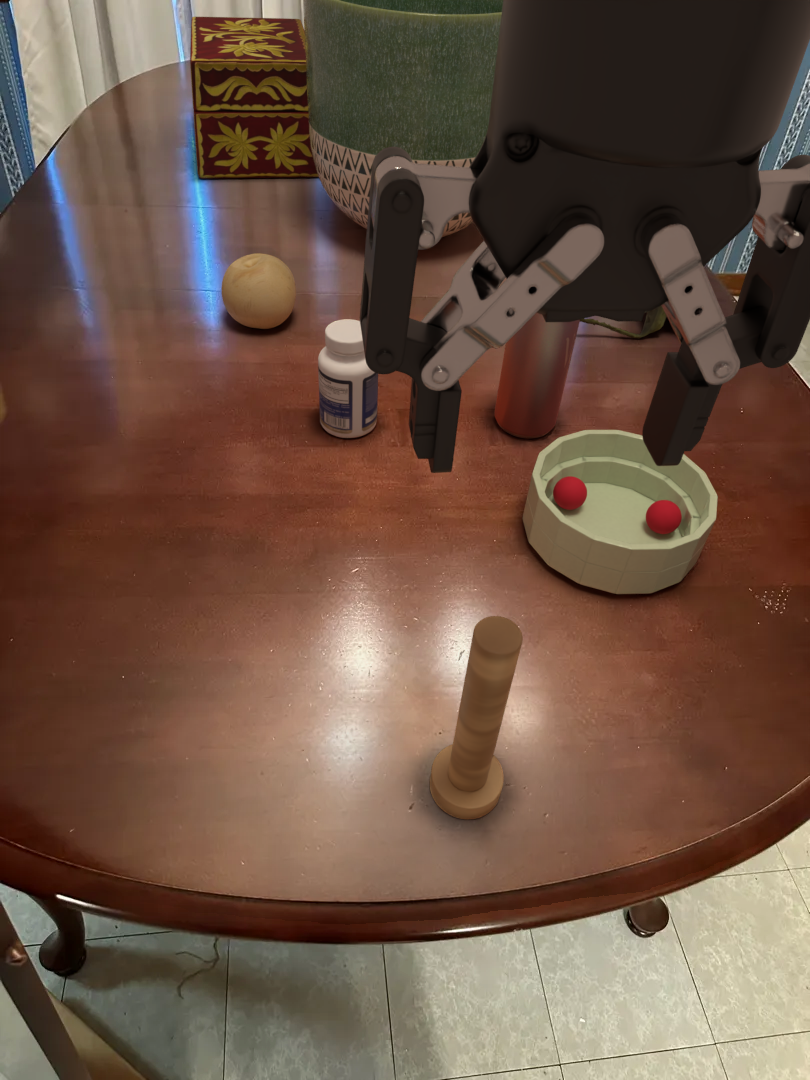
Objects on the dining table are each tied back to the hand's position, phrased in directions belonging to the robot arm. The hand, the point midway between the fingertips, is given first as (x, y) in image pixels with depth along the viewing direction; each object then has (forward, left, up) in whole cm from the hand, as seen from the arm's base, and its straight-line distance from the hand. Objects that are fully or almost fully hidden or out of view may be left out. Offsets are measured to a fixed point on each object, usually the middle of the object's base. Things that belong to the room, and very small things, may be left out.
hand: (550, 455), depth 29 cm
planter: (+57, -60, -27) cm, 87 cm away
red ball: (+10, -26, -24) cm, 37 cm away
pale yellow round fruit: (+52, -29, -27) cm, 65 cm away
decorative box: (+93, -65, -27) cm, 116 cm away
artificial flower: (+23, -56, -27) cm, 66 cm away
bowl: (+6, -26, -26) cm, 38 cm away
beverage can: (+20, -34, -27) cm, 48 cm away
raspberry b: (+3, -29, -24) cm, 38 cm away
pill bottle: (+32, -22, -27) cm, 47 cm away
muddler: (+1, 0, -26) cm, 27 cm away
